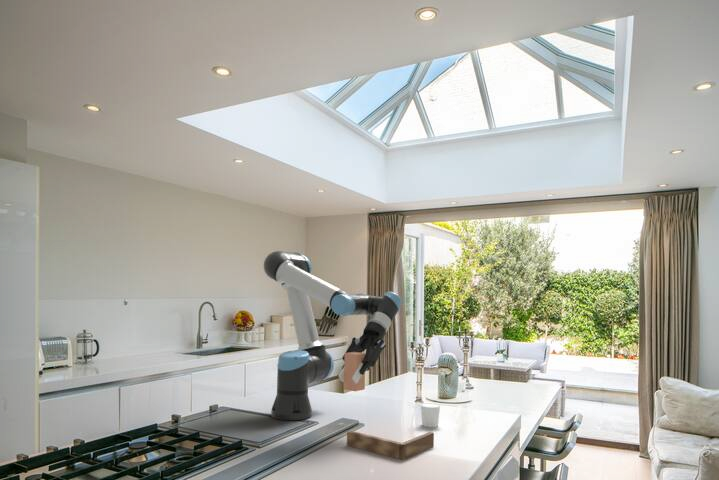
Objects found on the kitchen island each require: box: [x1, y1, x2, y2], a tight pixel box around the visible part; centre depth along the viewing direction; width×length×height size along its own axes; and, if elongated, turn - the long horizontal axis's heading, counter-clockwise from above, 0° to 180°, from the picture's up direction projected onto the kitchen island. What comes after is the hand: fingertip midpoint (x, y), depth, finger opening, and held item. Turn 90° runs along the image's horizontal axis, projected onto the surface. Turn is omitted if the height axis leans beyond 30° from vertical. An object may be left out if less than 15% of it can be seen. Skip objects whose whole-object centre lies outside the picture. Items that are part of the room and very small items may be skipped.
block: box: [343, 352, 366, 392], centre depth 173 cm, size 5×5×12 cm
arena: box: [346, 430, 435, 461], centre depth 158 cm, size 20×18×4 cm
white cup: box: [420, 403, 441, 428], centre depth 184 cm, size 7×7×7 cm
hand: (347, 379), depth 170 cm, fingers closed on block, 5 cm apart
